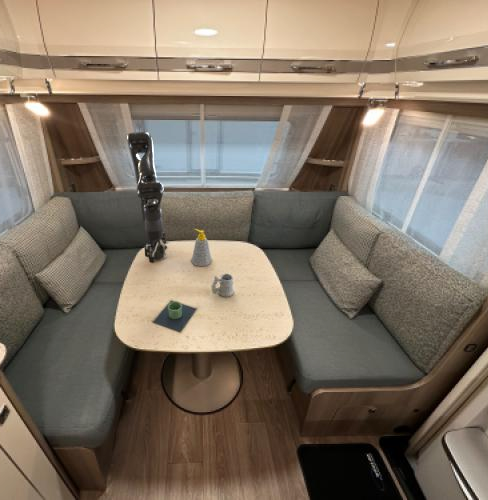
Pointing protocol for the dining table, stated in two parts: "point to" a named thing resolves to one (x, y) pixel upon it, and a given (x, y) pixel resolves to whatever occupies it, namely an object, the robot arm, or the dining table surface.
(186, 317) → the placemat
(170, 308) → the green cup
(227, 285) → the mug
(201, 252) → the soap bottle
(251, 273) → the dining table surface
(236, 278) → the dining table surface
